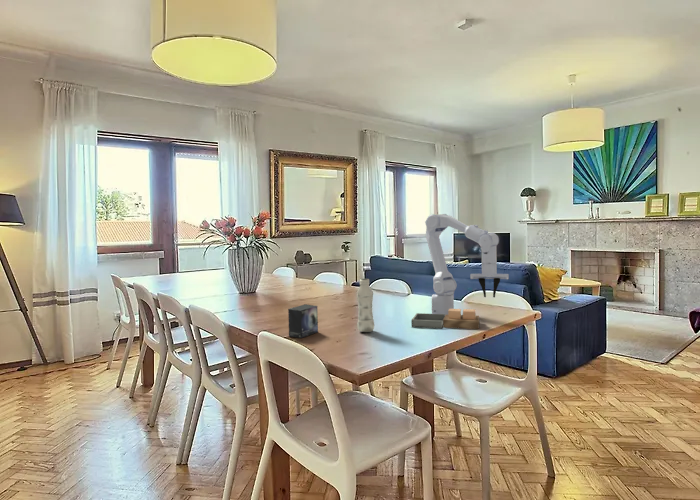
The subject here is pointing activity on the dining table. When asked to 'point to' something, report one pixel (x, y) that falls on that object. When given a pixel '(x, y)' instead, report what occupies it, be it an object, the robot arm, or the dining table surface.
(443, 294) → the robot arm
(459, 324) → the board
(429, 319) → the tray
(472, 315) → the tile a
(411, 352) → the dining table surface
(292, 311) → the small box
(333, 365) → the dining table surface
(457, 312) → the tan square block
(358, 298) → the plastic bottle
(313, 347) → the dining table surface
